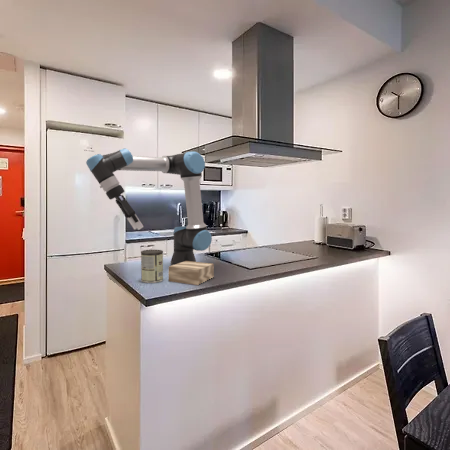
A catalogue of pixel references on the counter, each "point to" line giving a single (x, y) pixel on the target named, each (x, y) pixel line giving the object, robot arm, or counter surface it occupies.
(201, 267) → the birch block
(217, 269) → the counter surface
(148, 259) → the coffee can
